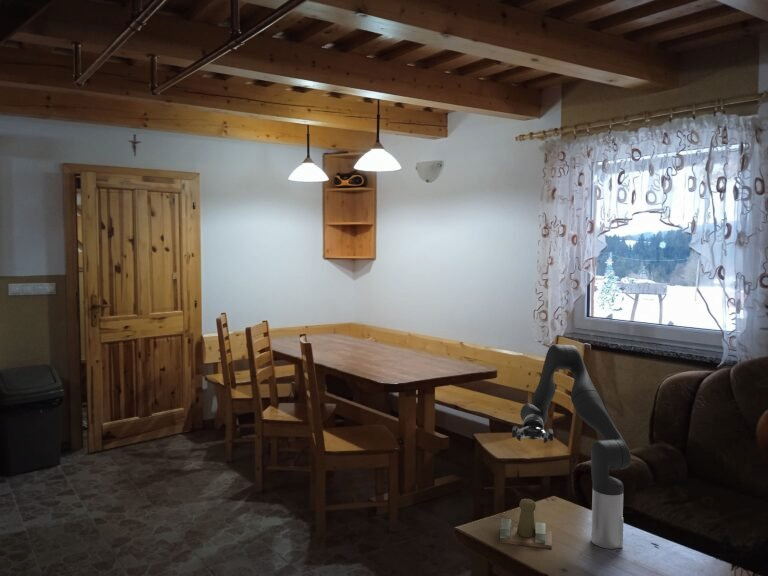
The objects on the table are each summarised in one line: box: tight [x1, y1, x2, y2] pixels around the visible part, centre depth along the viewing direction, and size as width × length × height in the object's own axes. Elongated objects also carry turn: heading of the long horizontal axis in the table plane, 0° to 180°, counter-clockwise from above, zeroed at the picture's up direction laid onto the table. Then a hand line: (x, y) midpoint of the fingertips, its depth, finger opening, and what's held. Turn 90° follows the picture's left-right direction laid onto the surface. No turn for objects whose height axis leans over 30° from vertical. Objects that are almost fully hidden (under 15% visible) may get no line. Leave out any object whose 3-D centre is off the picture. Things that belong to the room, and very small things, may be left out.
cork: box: [517, 498, 537, 537], centre depth 202 cm, size 6×6×11 cm
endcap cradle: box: [499, 517, 553, 549], centre depth 201 cm, size 16×10×4 cm, turn 75°
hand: (532, 439), depth 214 cm, fingers open, 8 cm apart
